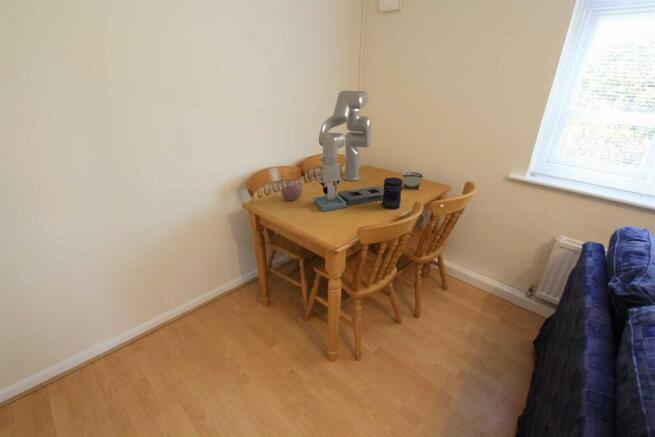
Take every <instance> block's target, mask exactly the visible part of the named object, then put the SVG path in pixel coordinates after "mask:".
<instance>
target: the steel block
mask: <svg viewBox="0 0 655 437" xmlns="http://www.w3.org/2000/svg"><path fill="white" fill-rule="evenodd" d="M326 187H327V194H325V193H324V192H323V193H324V194H323V196H324V200H325V201H327V202H334V201H335V194H336V193H335V185H334V184H333V182H329V183H327V185H326Z"/></svg>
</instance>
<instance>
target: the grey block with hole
mask: <svg viewBox="0 0 655 437" xmlns="http://www.w3.org/2000/svg"><path fill="white" fill-rule="evenodd" d="M337 195H338V196H339V197H340V198H341V199H343V200H344V201H345V202H346V203H347V206H348V207H349V206H357V205H362V204H368V203H373V202H374V203H375V202H379V201H382V200H383V195H384V187H381V185H374V186H369V187H363V188H362V187H361V188H356V189H355V188H354V189H347V190H346V189H345V190H342V191H341V190H340V191H337Z"/></svg>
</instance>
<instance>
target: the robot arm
mask: <svg viewBox="0 0 655 437" xmlns="http://www.w3.org/2000/svg"><path fill="white" fill-rule="evenodd" d="M336 99H337V100H336V103H335V106H334V111H333V113H332V115H331V116H329V117H328V118H327V119H326V120H324V122H323V124H322V125H321V128H320V131H319V135H318V144H319V145H320V146H321V147H322V158H320V162H321V164H320V173H319V178H318V179H317V181H316V182H317V183H318V184H319V185H321V186H322V192H323V193H325V194H327V187H326V185H327V184H328V183H332V184H334V185H335V194H337V186H338V185H339V183H340V182H341V181H342V180H345V181H348V182H354V181H357V182H358V181H359V180H361V175H359V172H360V151H359V149H358V148H364V149H365V148H369V147H371V144H372V119H371V118H370V117H369V116H365V115H360V110H362V109H363V108H365V107H366V106H367V105H368V102H369V95H368V93H367V91H365V90H364V91H363V90H341V91H339V93H338V96H337V98H336ZM343 124H345V125H346V129H347V131H349V132H346V133H345V135H344V133H341V132H330V130H331V129H334V128H335V127H338V126H341V125H343ZM344 146H345V149H344V150H345V159H344V171H343V172H344V174H343V175H341V169H340V168H341V167H340V163H339V161H338V149H341V148H343V147H344Z"/></svg>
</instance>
